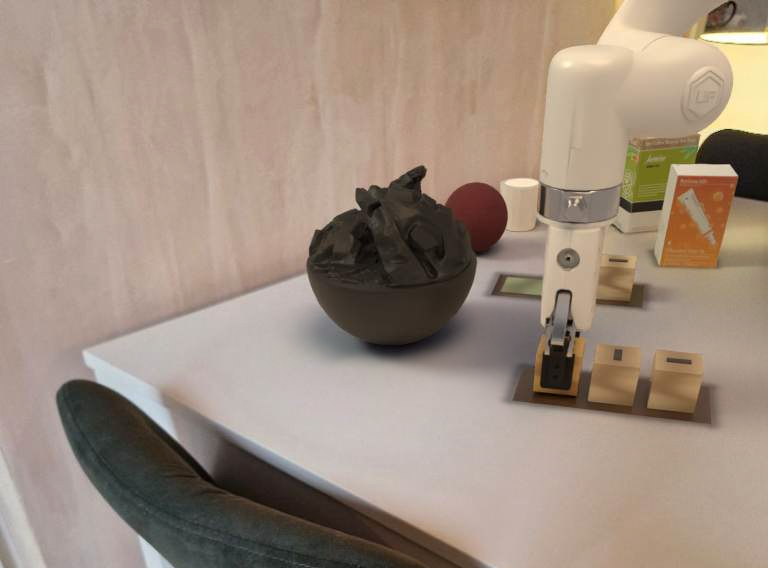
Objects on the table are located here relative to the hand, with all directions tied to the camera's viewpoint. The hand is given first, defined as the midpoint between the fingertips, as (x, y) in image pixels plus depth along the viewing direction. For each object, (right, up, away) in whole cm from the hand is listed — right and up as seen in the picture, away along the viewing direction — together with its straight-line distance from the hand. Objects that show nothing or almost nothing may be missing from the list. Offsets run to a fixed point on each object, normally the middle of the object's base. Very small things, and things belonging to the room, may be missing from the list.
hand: (558, 374), depth 82 cm
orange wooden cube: (0, -1, +1) cm, 1 cm away
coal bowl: (-18, +7, +13) cm, 23 cm away
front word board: (+6, -3, 0) cm, 6 cm away
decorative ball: (-5, +26, +37) cm, 46 cm away
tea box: (+24, +34, +47) cm, 63 cm away
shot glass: (+4, +33, +46) cm, 57 cm away
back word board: (+6, +15, +23) cm, 28 cm away
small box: (+26, +22, +31) cm, 46 cm away
